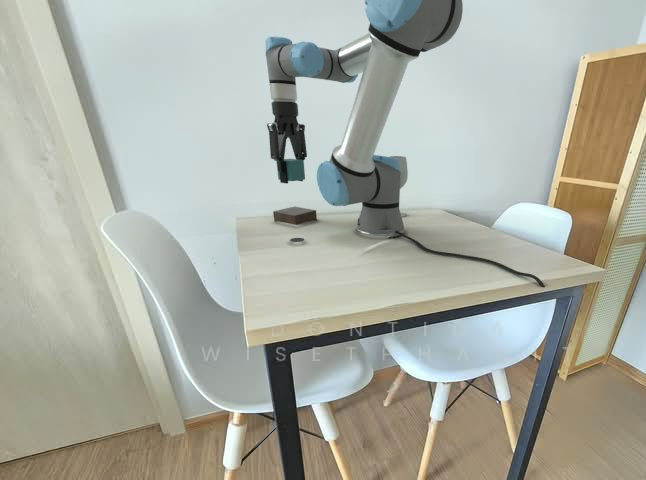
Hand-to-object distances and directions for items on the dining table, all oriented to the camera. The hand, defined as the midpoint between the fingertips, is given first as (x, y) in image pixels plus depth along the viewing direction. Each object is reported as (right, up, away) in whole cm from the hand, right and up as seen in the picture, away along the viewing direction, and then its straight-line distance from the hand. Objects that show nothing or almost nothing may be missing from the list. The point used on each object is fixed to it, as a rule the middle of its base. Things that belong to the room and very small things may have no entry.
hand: (292, 181), depth 117 cm
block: (0, +1, 0) cm, 1 cm away
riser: (0, -12, +6) cm, 13 cm away
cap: (+6, -23, -15) cm, 28 cm away
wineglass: (+34, -6, +21) cm, 40 cm away
